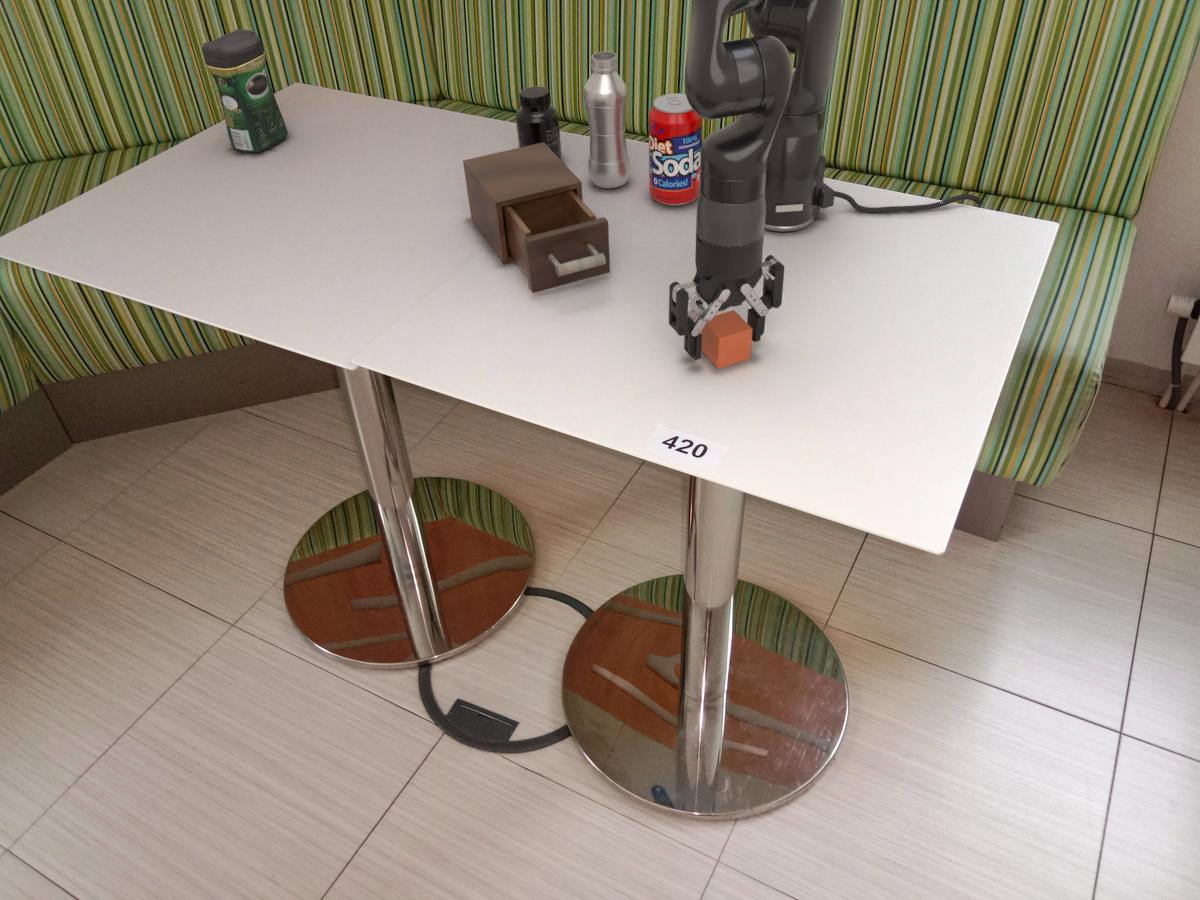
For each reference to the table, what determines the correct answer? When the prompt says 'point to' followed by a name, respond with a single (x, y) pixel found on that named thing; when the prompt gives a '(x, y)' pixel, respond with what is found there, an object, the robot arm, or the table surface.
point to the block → (726, 339)
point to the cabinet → (512, 187)
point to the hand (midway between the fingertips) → (723, 347)
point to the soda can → (674, 150)
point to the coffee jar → (245, 91)
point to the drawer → (556, 240)
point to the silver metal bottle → (606, 122)
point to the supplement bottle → (538, 120)
